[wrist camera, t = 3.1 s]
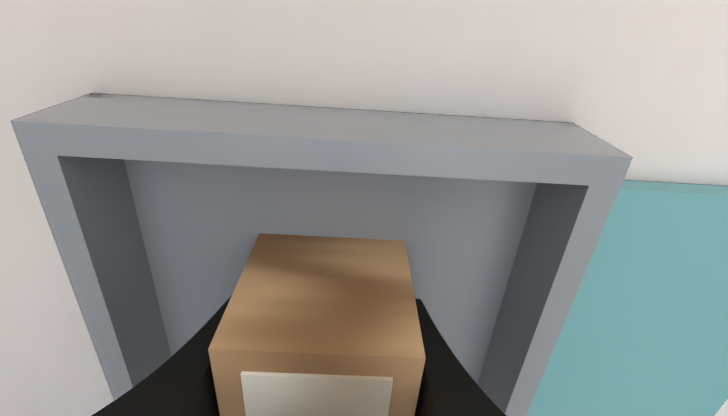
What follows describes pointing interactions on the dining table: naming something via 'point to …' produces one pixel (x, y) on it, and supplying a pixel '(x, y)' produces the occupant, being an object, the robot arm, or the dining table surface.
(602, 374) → the teal board
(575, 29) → the dining table surface
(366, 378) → the labelled box
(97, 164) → the tray
